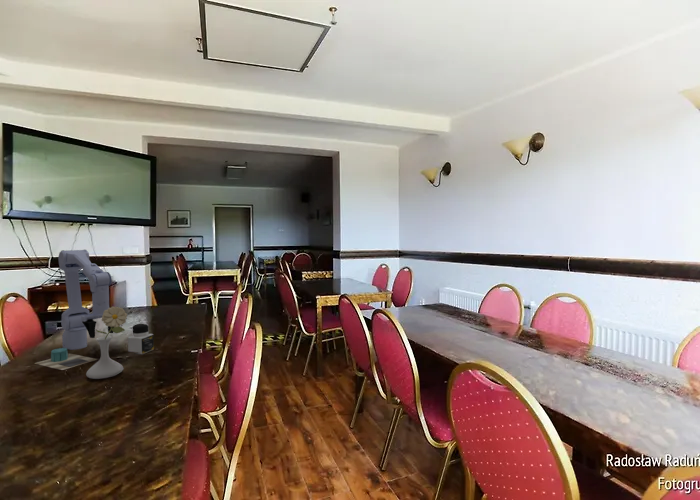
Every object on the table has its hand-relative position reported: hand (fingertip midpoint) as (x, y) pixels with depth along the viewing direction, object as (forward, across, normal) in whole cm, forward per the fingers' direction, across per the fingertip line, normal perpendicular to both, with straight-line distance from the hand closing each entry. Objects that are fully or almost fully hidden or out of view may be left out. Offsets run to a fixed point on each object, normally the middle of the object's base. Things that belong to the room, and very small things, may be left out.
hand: (101, 335), depth 155 cm
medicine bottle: (+10, +13, -6) cm, 17 cm away
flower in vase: (+10, -11, -20) cm, 25 cm away
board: (+10, -10, +7) cm, 15 cm away
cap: (+9, -9, +12) cm, 17 cm away
